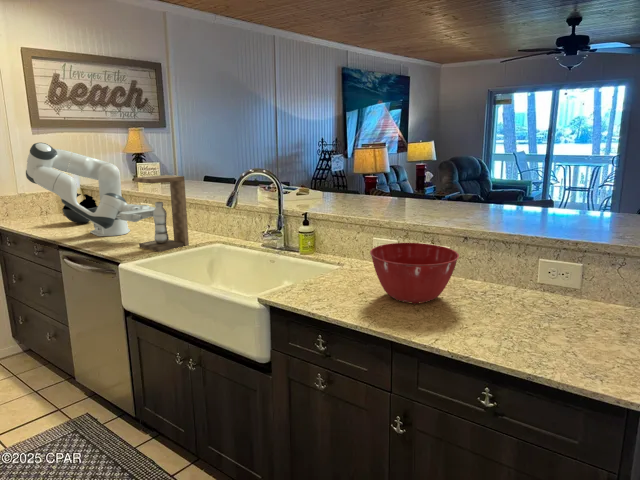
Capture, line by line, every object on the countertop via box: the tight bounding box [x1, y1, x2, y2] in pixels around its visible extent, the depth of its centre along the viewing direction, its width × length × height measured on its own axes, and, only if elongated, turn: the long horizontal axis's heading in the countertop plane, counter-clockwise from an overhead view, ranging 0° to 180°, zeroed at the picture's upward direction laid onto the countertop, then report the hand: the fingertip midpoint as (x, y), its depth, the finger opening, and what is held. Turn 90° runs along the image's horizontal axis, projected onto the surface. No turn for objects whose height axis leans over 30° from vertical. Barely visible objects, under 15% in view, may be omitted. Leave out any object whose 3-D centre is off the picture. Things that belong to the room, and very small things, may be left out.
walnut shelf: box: [133, 174, 190, 253], centre depth 235 cm, size 16×18×34 cm
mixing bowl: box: [369, 242, 460, 304], centre depth 161 cm, size 28×28×16 cm
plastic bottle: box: [153, 201, 170, 244], centre depth 235 cm, size 6×7×20 cm
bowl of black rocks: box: [62, 192, 99, 224], centre depth 303 cm, size 20×20×19 cm
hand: (149, 215), depth 241 cm, fingers open, 8 cm apart
